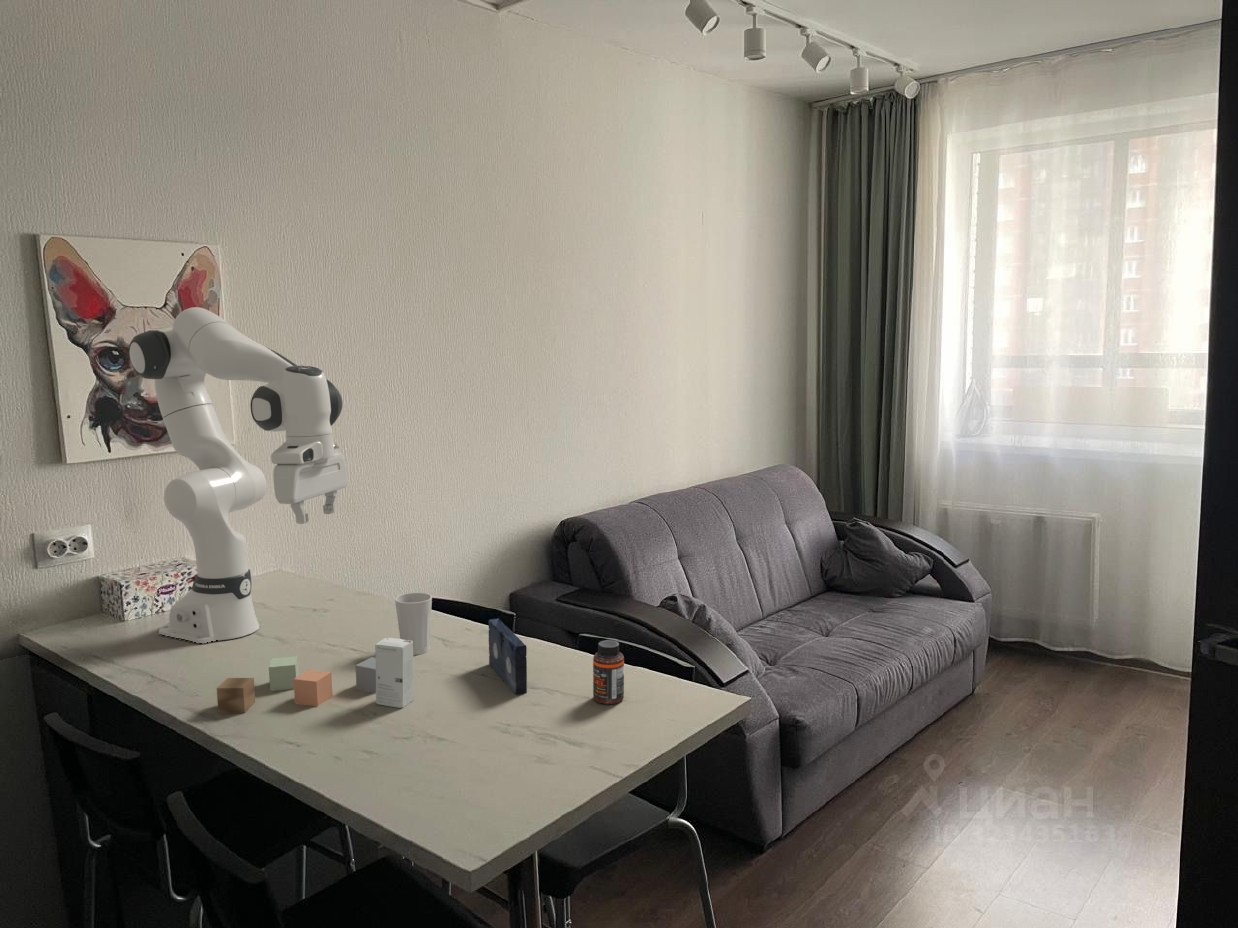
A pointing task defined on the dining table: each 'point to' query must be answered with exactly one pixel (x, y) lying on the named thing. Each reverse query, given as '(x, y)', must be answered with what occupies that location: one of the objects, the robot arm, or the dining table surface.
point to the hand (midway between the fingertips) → (316, 518)
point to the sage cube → (283, 673)
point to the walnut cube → (236, 695)
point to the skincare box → (394, 672)
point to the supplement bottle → (608, 673)
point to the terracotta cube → (313, 687)
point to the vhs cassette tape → (508, 656)
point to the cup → (415, 619)
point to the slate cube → (366, 675)
